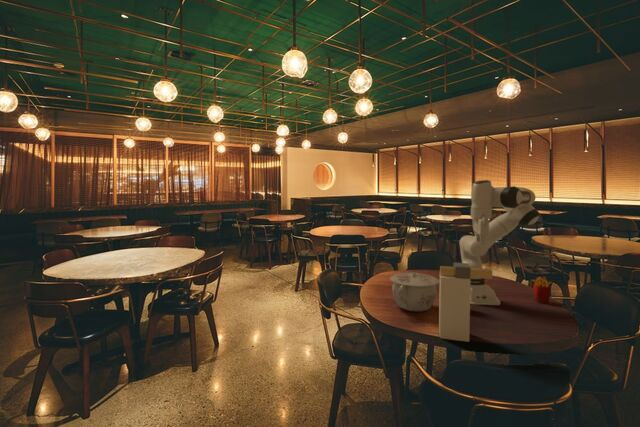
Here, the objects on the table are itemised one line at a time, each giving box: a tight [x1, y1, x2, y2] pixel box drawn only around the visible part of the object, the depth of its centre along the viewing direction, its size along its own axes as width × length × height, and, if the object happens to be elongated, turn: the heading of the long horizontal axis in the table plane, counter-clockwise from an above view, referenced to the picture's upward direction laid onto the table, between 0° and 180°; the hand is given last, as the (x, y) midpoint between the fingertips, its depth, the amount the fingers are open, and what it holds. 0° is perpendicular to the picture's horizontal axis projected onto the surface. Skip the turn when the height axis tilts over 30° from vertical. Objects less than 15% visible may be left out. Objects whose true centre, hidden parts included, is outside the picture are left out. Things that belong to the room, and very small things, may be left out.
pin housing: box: [438, 262, 471, 343], centre depth 140 cm, size 12×10×33 cm
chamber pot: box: [389, 271, 440, 313], centre depth 175 cm, size 28×28×21 cm
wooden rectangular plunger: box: [439, 265, 493, 280], centre depth 138 cm, size 21×4×4 cm, turn 71°
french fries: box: [531, 276, 552, 304], centre depth 183 cm, size 9×8×15 cm
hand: (480, 243), depth 146 cm, fingers open, 8 cm apart
